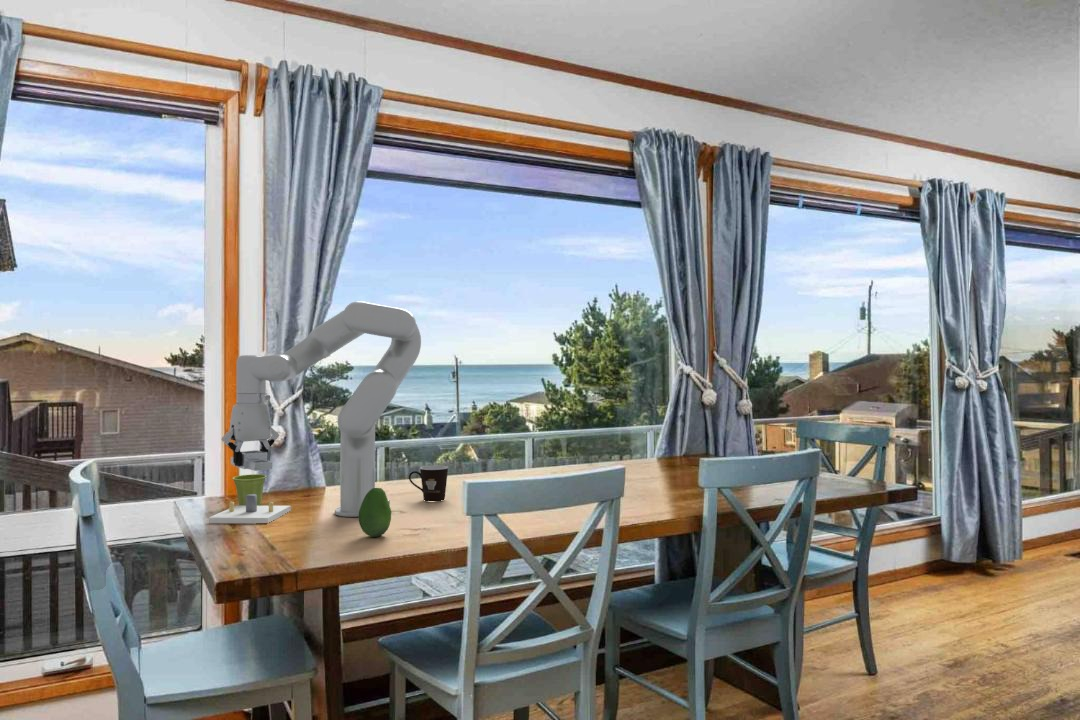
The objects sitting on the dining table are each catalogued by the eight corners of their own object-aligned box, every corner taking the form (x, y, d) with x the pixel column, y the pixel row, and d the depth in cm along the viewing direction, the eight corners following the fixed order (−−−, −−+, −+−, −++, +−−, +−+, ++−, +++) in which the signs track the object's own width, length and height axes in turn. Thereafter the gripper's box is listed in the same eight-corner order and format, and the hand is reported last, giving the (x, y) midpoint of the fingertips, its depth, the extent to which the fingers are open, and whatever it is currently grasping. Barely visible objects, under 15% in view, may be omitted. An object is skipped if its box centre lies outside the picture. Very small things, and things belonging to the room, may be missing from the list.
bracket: (227, 464, 205) (227, 450, 205) (250, 462, 210) (250, 448, 210) (251, 471, 194) (251, 456, 194) (275, 468, 198) (275, 453, 198)
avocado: (396, 533, 183) (396, 485, 183) (382, 541, 175) (382, 491, 175) (367, 531, 184) (366, 484, 184) (352, 539, 177) (352, 489, 177)
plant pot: (244, 510, 211) (243, 480, 211) (226, 506, 217) (226, 477, 217) (273, 505, 218) (273, 476, 218) (255, 501, 224) (255, 473, 224)
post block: (290, 510, 210) (290, 490, 210) (268, 523, 194) (268, 500, 194) (235, 510, 210) (235, 489, 210) (208, 523, 194) (208, 500, 194)
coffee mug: (453, 499, 227) (453, 467, 227) (435, 503, 220) (435, 470, 220) (425, 495, 233) (425, 464, 233) (406, 499, 226) (406, 467, 226)
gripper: (275, 398, 211) (275, 460, 211) (213, 400, 199) (213, 466, 199) (287, 399, 205) (287, 463, 205) (224, 401, 193) (224, 469, 193)
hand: (251, 464), depth 202 cm, fingers closed on bracket, 6 cm apart
